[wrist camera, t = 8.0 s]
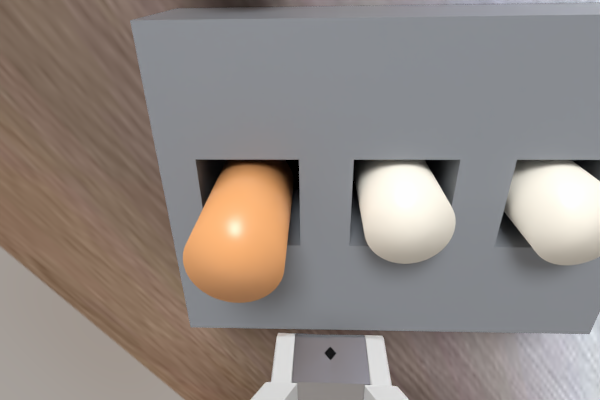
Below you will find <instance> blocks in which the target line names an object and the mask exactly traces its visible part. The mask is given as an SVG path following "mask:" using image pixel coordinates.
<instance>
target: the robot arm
mask: <svg viewBox="0 0 600 400" xmlns="http://www.w3.org/2000/svg"><path fill="white" fill-rule="evenodd" d="M250 400H409V399H408V398H407V397H406V396H405V394H404V393H403V392H402V391H401V390H400V389H399V388H398V387H397V386H392V384H391V378H390V372H389V366H388V360H387V354H386V348H385V342H384V338H383V336H373V335H365V336H364V335H318V334H298V333H296V334H293V333H278V335H277V338H276V346H275V354H274V362H273V370H272V378H271V382H265V383H264V385H263V386H262V387H261V388H260V389H259V390H258V391H257V393H256V394H255V395H254V396H253V397H252V398H251V399H250Z"/></svg>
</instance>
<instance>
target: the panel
mask: <svg viewBox="0 0 600 400" xmlns="http://www.w3.org/2000/svg"><path fill="white" fill-rule="evenodd" d="M130 22H131V27H132V32H133V37H134V42H135V47H136V52H137V57H138V62H139V68H140V73H141V78H142V83H143V88H144V93H145V98H146V103H147V108H148V113H149V118H150V123H151V128H152V133H153V138H154V144H155V149H156V154H157V159H158V164H159V169H160V174H161V179H162V184H163V189H164V194H165V199H166V204H167V209H168V214H169V220H170V225H171V230H172V235H173V240H174V245H175V250H176V255H177V260H178V265H179V270H180V275H181V280H182V285H183V290H184V296H185V301H186V306H187V311H188V316H189V321H190V326H191V327H208V328H267V329H326V330H385V331H445V332H504V333H563V334H590V332H591V329H592V327H593V325H594V323H595V320H596V318H597V316H598V314H599V312H600V257H598V258H596V259H594V260H591V261H588V262H585V263H582V264H577V265H557V264H553V263H550V262H547V261H545V260H544V259H542V258H541V257H540V256H539V255H538V254H537V253H536V252H535V251H534V249H533V248H532V247H531V245H530V244H529V243H528V242H527V240H526V239H525V238H524V236H523V235H522V234H521V233H520V231H519V230H518V229H517V227H516V226H515V225H514V224H513V222H512V221H511V220H510V219H509V217H508V216H507V215H506V213H505V212H504V208H505V204H506V200H507V197H508V193H509V189H510V185H511V181H512V177H513V174H514V170H515V166H516V162H517V160H572V161H573V162H574V163H576V164H577V165H579V166H580V167H581V168H583V169H584V170H585V171H587V172H588V173H589V174H591V175H592V176H593V177H595V178H596V179H597V180H599V181H600V3H530V4H456V5H383V6H309V7H235V8H176V9H173V10H169V11H165V12H161V13H157V14H153V15H149V16H146V17H142V18H138V19H134V20H130ZM227 160H299V189H293V196H292V205H291V214H290V223H289V232H288V241H287V250H286V260H285V269H284V274H283V277H282V280H281V282H280V283H279V285H278V286H277V287H276V289H275V290H274V291H272V292H271V293H270V294H269V295H267V296H265V297H263V298H261V299H259V300H256V301H252V302H245V303H233V302H226V301H222V300H219V299H216V298H213V297H211V296H209V295H207V294H206V293H204V292H203V291H201V290H200V289H199V288H198V287H197V286H196V285H194V283H193V282H192V281H191V280H190V278H189V277H188V275H187V273H186V271H185V268H184V264H183V251H184V248H185V245H186V243H187V241H188V239H189V237H190V234H191V232H192V230H193V228H194V226H195V224H196V222H197V220H198V218H199V216H200V214H201V212H202V210H203V208H204V205H205V203H206V201H207V199H208V197H209V195H210V193H211V191H212V189H213V187H214V185H215V183H216V181H217V178H218V176H219V174H220V172H221V170H222V168H223V166H224V164H225V162H226V161H227ZM354 160H425V161H426V163H427V165H428V166H429V168H430V170H431V172H432V173H433V175H434V177H435V179H436V180H437V182H438V184H439V186H440V187H441V189H442V191H443V193H444V194H445V196H446V198H447V200H448V201H449V203H450V205H451V207H452V208H453V211H454V213H455V219H456V225H455V230H454V233H453V236H452V238H451V240H450V241H449V243H448V244H447V245H446V246H445V247H444V248H443V249H442V250H441V251H440V252H439V253H438V254H436V255H434V256H433V257H431V258H429V259H427V260H424V261H421V262H417V263H411V264H400V263H393V262H390V261H387V260H385V259H383V258H381V257H379V256H378V255H377V254H375V253H374V252H373V251H372V250H371V248H370V247H369V246H368V244H367V242H366V239H365V235H364V229H363V223H362V218H361V212H360V207H359V201H358V196H357V190H352V185H353V166H354Z"/></svg>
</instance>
